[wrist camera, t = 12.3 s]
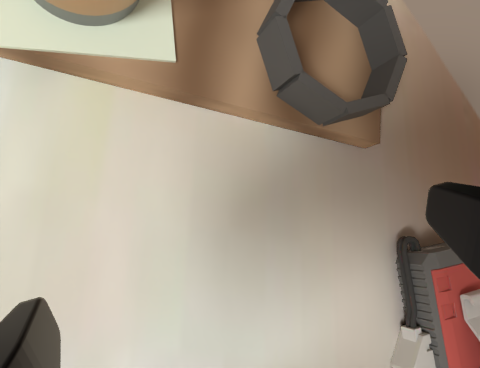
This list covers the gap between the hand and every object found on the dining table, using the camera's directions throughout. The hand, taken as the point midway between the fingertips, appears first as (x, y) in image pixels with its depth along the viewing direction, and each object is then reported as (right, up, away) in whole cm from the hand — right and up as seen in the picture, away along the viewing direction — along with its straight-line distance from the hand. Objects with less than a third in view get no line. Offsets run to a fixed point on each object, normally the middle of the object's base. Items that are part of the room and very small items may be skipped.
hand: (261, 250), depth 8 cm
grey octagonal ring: (+5, +10, +16) cm, 20 cm away
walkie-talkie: (+14, -12, +19) cm, 26 cm away
